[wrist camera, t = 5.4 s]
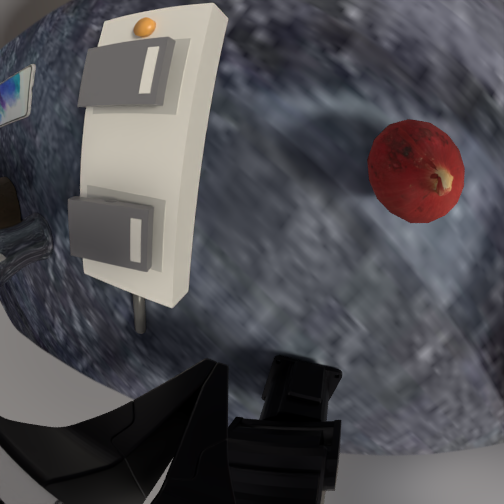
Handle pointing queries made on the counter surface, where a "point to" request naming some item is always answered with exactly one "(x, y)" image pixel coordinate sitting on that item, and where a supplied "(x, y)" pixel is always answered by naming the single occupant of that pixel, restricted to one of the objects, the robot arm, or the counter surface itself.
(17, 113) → the smartphone
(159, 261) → the power strip
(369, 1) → the counter surface
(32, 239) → the beer glass
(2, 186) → the pillar candle
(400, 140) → the onion
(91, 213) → the rocker
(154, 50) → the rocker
